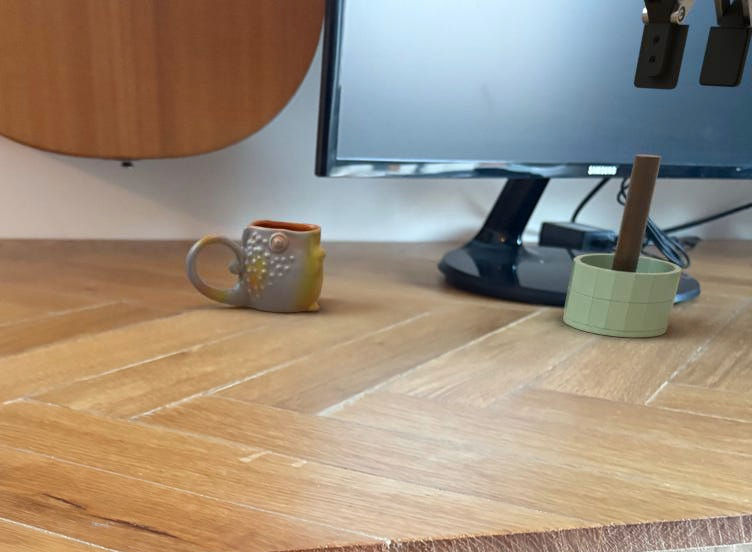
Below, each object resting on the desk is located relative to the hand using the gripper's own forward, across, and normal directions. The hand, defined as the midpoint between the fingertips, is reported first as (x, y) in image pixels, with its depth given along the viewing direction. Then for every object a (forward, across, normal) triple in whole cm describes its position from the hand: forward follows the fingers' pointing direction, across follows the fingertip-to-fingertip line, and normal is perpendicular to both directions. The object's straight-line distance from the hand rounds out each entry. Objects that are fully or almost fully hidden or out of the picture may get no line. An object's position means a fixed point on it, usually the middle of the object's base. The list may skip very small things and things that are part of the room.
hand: (687, 87), depth 76 cm
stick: (+17, -1, +2) cm, 18 cm away
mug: (+17, -23, +24) cm, 37 cm away
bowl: (+18, -1, +2) cm, 18 cm away
